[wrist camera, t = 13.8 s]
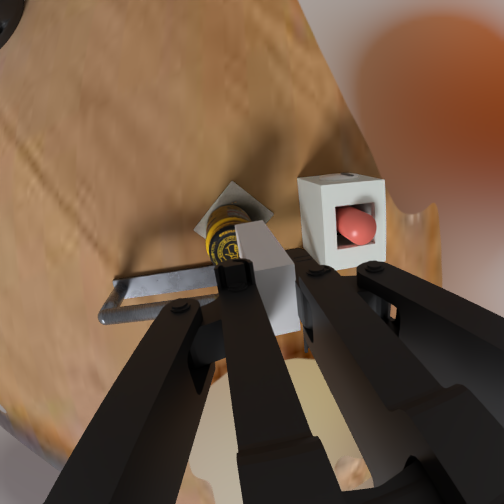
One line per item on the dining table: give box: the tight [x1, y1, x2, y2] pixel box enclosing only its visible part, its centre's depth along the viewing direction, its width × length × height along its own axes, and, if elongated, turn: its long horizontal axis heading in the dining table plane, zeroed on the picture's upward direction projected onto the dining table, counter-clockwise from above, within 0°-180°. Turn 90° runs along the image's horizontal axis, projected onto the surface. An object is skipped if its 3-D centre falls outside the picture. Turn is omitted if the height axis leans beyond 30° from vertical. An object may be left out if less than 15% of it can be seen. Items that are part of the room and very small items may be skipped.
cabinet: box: [297, 173, 386, 270], centre depth 40 cm, size 11×8×10 cm
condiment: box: [194, 181, 274, 266], centre depth 39 cm, size 7×8×12 cm
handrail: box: [98, 265, 219, 325], centre depth 41 cm, size 28×3×10 cm, turn 97°
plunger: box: [335, 205, 377, 245], centre depth 39 cm, size 4×4×9 cm
